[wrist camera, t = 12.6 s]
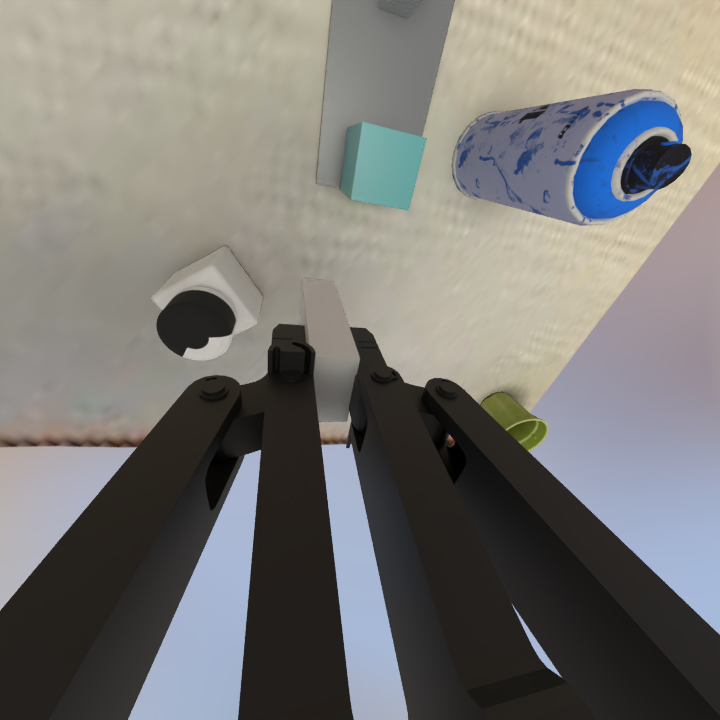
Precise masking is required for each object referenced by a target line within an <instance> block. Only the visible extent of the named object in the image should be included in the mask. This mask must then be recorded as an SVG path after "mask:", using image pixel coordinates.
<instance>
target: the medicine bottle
mask: <svg viewBox="0 0 720 720" xmlns="http://www.w3.org/2000/svg"><path fill="white" fill-rule="evenodd" d="M262 300H263V296H262V295H261V293H260V292H259V290H258V289H257V288H256V286H255V285H254V283H253V282H252V280H251V279H250V278H249V276H248V275H247V273H246V272H245V271H244V269H243V268H242V266H241V265H240V264H239V262H238V261H237V259H236V258H235V257H234V255H233V254H232V252H231V251H230V250H229V248H228V247H226V246H224V247H222V248H220V249H218V250H216V251H214V252H212V253H211V254H209V255H207V256H205V257H203V258H201V259H199V260H198V261H196V262H194V263H192V264H190V265H188V266H187V267H185V268H183V269H181V270H179V271H177V272H175V273H174V274H173V275H172V276H171V277H170V278H169V279H168V280H167V281H166V282H165V284H164V285H163V286H162V287H161V288H160V289H159V290H158V291H157V292H156V293H155V294H154V295H153V296H152V301H153V302H154V303H155V304H156V305H157V306H158V307H159V308H160V309H161V310H162V312H161V313H160V315H159V316H158V319H157V332H158V335H159V337H160V339H161V340H162V342H163V343H164V344H165V345H166V346H167V347H168V348H169V349H170V350H171V351H173V352H174V353H176V354H178V355H180V356H182V357H184V358H187V359H191V360H200V361H203V360H211V359H214V358H217V357H219V356H221V355H222V354H224V353H225V352H226V351H227V350H228V348H229V346H230V344H231V341H232V338H233V336H234V335H236V334H238V333H240V332H242V331H244V330H246V329H248V328H250V327H252V326H254V325H256V324H257V323H258V318H259V314H260V309H261V305H262Z"/></svg>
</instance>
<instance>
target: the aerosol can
mask: <svg viewBox="0 0 720 720" xmlns="http://www.w3.org/2000/svg"><path fill="white" fill-rule="evenodd" d="M682 141H683V125H682V123H681V114H680V112H679V110H678V107H677V105H676V102H675V100H673V99H672V98H670V97H669V96H668V95H666V94H665V93H663V92H661V91H653V90H646V89H633V90H627V91H622V92H616V93H610V94H605V95H599V96H593V97H587V98H582V99H576V100H570V101H564V102H559V103H553V104H547V105H542V106H536V107H530V108H524V109H519V110H513V111H507V112H489V113H487V114H484V115H482V116H479V117H478V118H476V119H475V120H474V121H473V122H472V123H470V124H469V125H468V126H467V128H466V129H465V130H464V132H463V133H462V135H461V136H460V138H459V140H458V142H457V145H456V147H455V150H454V154H453V161H452V172H453V179H454V181H455V183H456V185H457V188H458V189H459V190H460V191H461V192H462V193H463V194H464V195H466V196H468V197H471V198H474V199H485V200H488V201H492V202H496V203H499V204H503V205H507V206H510V207H514V208H518V209H521V210H525V211H529V212H533V213H536V214H540V215H544V216H547V217H551V218H555V219H558V220H562V221H566V222H570V223H573V224H577V225H581V226H582V225H603V224H607V223H609V222H612V221H615V220H617V219H620V218H622V217H623V216H625V215H626V214H628V213H629V212H630V211H632V210H633V209H635V208H636V207H638V206H639V205H640V204H642V203H643V202H645V201H646V200H647V199H648V198H649V197H650V196H651V195H652V194H653V193H654V192H656V191H657V190H659V189H661V188H664V187H666V186H668V185H669V184H671V183H672V182H674V181H675V180H676V179H677V178H678V177H679V176H680V175H681V174H682V173H683V172H684V170H685V169H686V167H687V166H688V164H689V162H690V159H691V149H690V147H688V146H687V145H686V144H682Z"/></svg>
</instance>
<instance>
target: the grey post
mask: <svg viewBox="0 0 720 720" xmlns="http://www.w3.org/2000/svg"><path fill="white" fill-rule="evenodd" d="M423 1H424V0H379V6H378V9H381V10H384V11H387V12H389V13H392V14H395V15H398V16H400V17H403V18H406V19H408V18H409V17H410V16H411V14H412V13H413V12H414V11H415V10H416V9H417V8H418V6H419V5H420V4H421V3H422V2H423Z"/></svg>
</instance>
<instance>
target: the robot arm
mask: <svg viewBox="0 0 720 720" xmlns="http://www.w3.org/2000/svg"><path fill="white" fill-rule="evenodd" d="M349 411H350V416H351V425H350V429H349V434H348V438H347V444H346V448H349V447H350V443H351V442H352V447H353V452H354V456H355V461H356V466H357V471H358V475H359V480H360V485H361V490H362V494H363V499H364V504H365V509H366V514H367V519H368V523H369V528H370V533H371V538H372V542H373V547H374V552H375V557H376V561H377V566H378V571H379V576H380V581H381V585H382V590H383V595H384V599H385V604H386V609H387V614H388V618H389V623H390V628H391V633H392V638H393V642H394V647H395V652H396V657H397V662H398V667H399V671H400V676H401V681H402V686H403V690H404V695H405V700H406V705H407V711H408V720H720V635H719V634H718V633H717V632H716V631H715V630H714V629H713V628H712V627H711V626H710V625H709V624H708V623H707V622H705V620H703V619H702V618H701V617H700V616H699V615H698V614H697V613H696V612H695V611H694V610H693V609H692V608H691V607H690V606H689V605H688V604H687V603H686V602H685V601H684V600H683V599H682V598H680V597H679V596H678V595H677V594H676V593H675V592H674V591H673V590H672V589H671V588H670V587H669V586H668V585H667V584H666V583H665V582H664V581H663V580H662V579H661V578H660V577H659V576H658V575H656V574H655V573H654V572H653V571H652V570H651V569H650V568H649V567H648V566H647V565H646V564H645V563H644V562H643V561H642V560H641V559H640V558H639V557H638V556H636V554H635V553H633V551H631V550H630V549H629V548H628V547H627V546H626V545H625V544H624V543H623V542H622V541H621V540H620V539H619V538H618V537H617V536H616V535H615V534H614V533H613V532H612V531H611V530H609V528H608V527H606V526H605V525H604V524H603V523H602V522H601V521H600V520H599V519H598V518H597V517H596V516H595V515H594V514H593V513H592V512H591V511H590V510H589V509H588V508H586V506H585V505H584V504H582V503H581V502H580V501H579V500H578V499H577V498H576V497H575V496H574V495H573V494H572V493H571V492H570V491H569V490H568V489H567V488H566V487H565V486H564V485H563V484H562V483H560V482H559V481H558V480H557V479H556V478H555V477H554V476H553V475H552V474H551V473H550V472H549V471H548V470H547V469H546V468H545V467H544V466H543V465H542V464H541V463H540V462H539V461H537V460H536V458H534V457H533V456H532V455H531V454H530V453H529V452H528V451H527V450H526V449H525V448H524V447H523V446H522V445H521V444H520V443H519V442H518V441H517V440H516V439H515V438H514V437H513V436H512V435H511V434H509V433H508V432H507V431H506V430H505V429H504V428H503V427H502V426H501V425H500V424H499V423H498V422H497V421H496V420H495V419H494V418H493V417H492V416H491V415H490V414H489V413H488V412H487V411H485V410H484V409H483V408H482V407H481V406H480V405H479V404H478V403H477V402H476V401H475V400H474V399H473V398H472V397H471V396H470V395H469V394H468V393H467V392H466V391H465V390H464V389H463V388H461V387H460V386H459V385H457V384H456V383H454V382H452V381H450V380H447V379H442V378H433V379H431V380H429V381H428V382H427V384H426V386H425V388H423V387H419V386H415V385H411V384H407V383H404V381H403V379H402V377H401V376H400V374H399V373H398V372H397V371H395V370H394V369H392V368H390V367H388V366H387V365H386V363H385V361H384V358H383V356H382V354H381V352H380V349H379V347H378V345H377V343H376V340H375V338H374V336H373V334H372V333H370V332H369V331H368V330H367V329H366V328H353V327H349V324H348V321H347V318H346V315H345V312H344V309H343V306H342V303H341V300H340V297H339V294H338V291H337V288H336V286H335V283H334V281H329V280H319V279H309V278H302V291H301V306H300V321H299V325H289V324H278V325H277V326H276V327H275V328H274V329H273V333H272V345H271V346H270V347H269V349H268V373H267V374H266V376H264V377H263V378H262V379H260V380H258V381H256V382H253V383H249V384H245V385H239V383H238V382H237V381H236V380H235V379H233V378H230V377H227V376H219V375H214V376H208V377H203V378H201V379H199V380H196V381H194V382H193V383H192V384H191V385H190V386H188V387H187V389H186V390H185V391H184V392H183V393H182V395H181V396H180V397H179V398H178V399H177V401H176V402H175V403H174V404H173V405H172V407H171V408H170V409H169V410H168V411H167V412H166V414H165V415H164V416H163V417H162V418H161V420H160V421H159V422H158V423H157V424H156V426H155V427H154V428H153V429H152V430H151V432H150V433H149V434H148V435H147V436H146V438H145V439H144V440H143V441H142V442H141V443H140V445H139V446H138V447H137V448H136V449H135V451H134V452H133V453H132V454H131V455H130V457H129V458H128V459H127V460H126V461H125V463H124V464H123V465H122V466H121V468H120V469H119V470H118V471H117V472H116V473H115V475H114V476H113V477H112V478H111V479H110V481H109V482H108V483H107V484H106V485H105V486H104V488H103V489H102V490H101V491H100V492H99V494H98V495H97V496H96V497H95V498H94V500H93V501H92V502H91V503H90V504H89V506H88V507H87V508H86V509H85V510H84V511H83V513H82V514H81V515H80V516H79V517H78V519H77V520H76V521H75V522H74V523H73V525H72V526H71V527H70V528H69V530H68V531H67V532H66V533H65V534H64V535H63V537H62V538H61V539H60V540H59V541H58V542H57V544H56V545H55V546H54V547H53V548H52V550H51V551H50V552H49V553H48V555H47V556H46V557H45V558H44V559H43V560H42V562H41V563H40V564H39V565H38V567H37V568H36V569H35V570H34V571H33V573H32V574H31V575H30V576H29V577H28V578H27V580H26V581H25V582H24V583H23V584H22V585H21V587H20V588H19V589H18V590H17V592H16V593H15V594H14V595H13V596H12V597H11V599H10V600H9V601H8V602H7V603H6V605H5V606H4V607H3V608H2V609H1V611H0V720H128V718H129V716H130V713H131V711H132V709H133V707H134V704H135V702H136V700H137V698H138V695H139V693H140V691H141V689H142V686H143V684H144V682H145V679H146V677H147V675H148V673H149V670H150V668H151V666H152V664H153V661H154V659H155V657H156V655H157V653H158V650H159V648H160V646H161V644H162V641H163V639H164V637H165V635H166V632H167V630H168V628H169V625H170V623H171V621H172V619H173V617H174V614H175V612H176V610H177V608H178V605H179V603H180V601H181V599H182V596H183V594H184V592H185V589H186V587H187V585H188V583H189V581H190V578H191V576H192V574H193V571H194V569H195V567H196V565H197V563H198V560H199V558H200V556H201V553H202V551H203V549H204V547H205V545H206V542H207V540H208V538H209V536H210V533H211V531H212V529H213V526H214V524H215V522H216V520H217V518H218V515H219V513H220V511H221V508H222V506H223V504H224V502H225V499H226V497H227V495H228V493H229V491H230V488H231V486H232V484H233V481H234V479H235V477H236V475H237V473H238V470H239V468H240V466H241V463H242V461H243V459H244V455H246V454H249V453H252V452H255V451H258V450H261V459H260V471H259V483H258V494H257V506H256V517H255V529H254V540H253V552H252V564H251V575H250V587H249V599H248V611H247V622H246V634H245V645H244V657H243V669H242V680H241V692H240V705H239V715H238V720H354V719H353V714H352V709H351V702H350V695H349V686H348V677H347V668H346V659H345V651H344V642H343V633H342V624H341V615H340V606H339V597H338V589H337V581H336V571H335V562H334V553H333V544H332V536H331V527H330V518H329V509H328V500H327V492H326V483H325V475H324V465H323V457H322V447H321V438H320V430H319V422H344V421H347V419H348V414H349ZM449 435H450V436H451V437H452V438H453V439H454V440H455V441H456V442H455V444H454V445H451V444H450V443H449V442H448V441H447V439H448V437H449ZM510 601H511V602H510ZM511 603H512V604H513V606H514V607H515V609H516V610H517V612H518V613H519V615H520V616H521V618H522V619H523V621H524V622H525V624H526V625H527V626H528V628H529V629H530V631H531V632H532V634H533V635H534V637H535V638H536V639H537V641H538V643H539V644H540V646H541V647H542V648H543V650H544V651H545V653H546V655H547V656H548V657H549V659H550V660H551V662H552V663H553V665H554V666H555V668H556V669H557V670H558V672H559V674H560V675H561V676H562V678H561V677H560V676H558V675H557V674H555V673H554V672H552V671H551V670H550V669H548V668H547V667H546V666H545V665H544V663H543V662H542V661H541V660H540V659H539V657H538V655H537V654H536V652H535V650H534V649H533V647H532V645H531V643H530V641H529V639H528V637H527V635H526V633H525V631H524V629H523V627H522V624H521V622H520V620H519V618H518V616H517V614H516V612H515V610H514V608H513V606H512V604H511Z"/></svg>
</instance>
